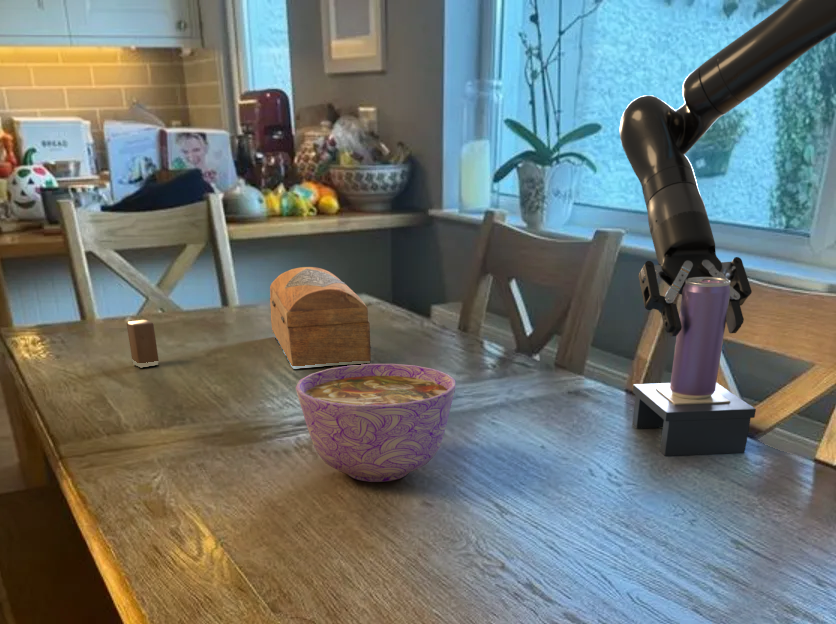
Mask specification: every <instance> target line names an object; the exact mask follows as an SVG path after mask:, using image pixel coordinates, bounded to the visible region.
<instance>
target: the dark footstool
mask: <svg viewBox="0 0 836 624" xmlns="http://www.w3.org/2000/svg"><path fill="white" fill-rule="evenodd" d="M670 383H671V382H661V383H659V382H658V383H657V382H656V383H633V385H632V393H633V394H634V395H635V397H634V405H633V414H632V423H631V424H632V426H633V427H634V428H635V429H637V430H638V429H639V430H640V429H658V428H657V427H663V428H662V431H661V440H660V447H659V452H660V453H661V454H662V455H663V456H664V457H672V456H695V455H696V456H697V455H699V456H700V455H721V454H742V453H745V452H746V447H747V441H748V437H749V430H750V423H751V419H754V418H755V417H756V412H757V409H756V408H755V407H754V406H752V405H751V404H750V403H747V402H746V401H745V400H743V399H742V398H740V397H739V396H738V395H736V394H734V393H733V392H731V391H730V390H728V389H727V388H726V387H724V386H722V385H721V384H719V383H718V382H717V383H716V389H715V392H714V393H713V395H712V396H711V397H709V398H705V399H685V398H680V397H677V396H675V395H673V394H672V392H671V390H670Z"/></svg>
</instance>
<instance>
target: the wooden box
mask: <svg viewBox="0 0 836 624" xmlns="http://www.w3.org/2000/svg"><path fill="white" fill-rule="evenodd" d="M269 293H270V294H269V296H270V298H269V305H270V324H271V330H273V331H272V333H273V332H274V334H275V336H276V338H277V339H278V341H279V343H280V345H281V347H282V349H283V350H284V352H285V354H286V356H287V358H288V360H289V362H290V363H291V365H292V366H305V365H315V364H326V363H339V362H352V361H371V362H372V355H371V354H372V352H371V351H372V350H371V348H372V347H371V324H370V323H371V322H370V321H369V308H368V306H367V304H365V302H364V301H363V300H362V299H361V297H360V296H359V295H358V294H357V293H355V292H354V290H353V289H351V287H349V286H348V285H347V284H346V283H345V281H344V282H343V281H342V280H341V279H340V278H339V277H338V276H337V275H335V274H334V273H332V272H331V271H328V270H326V269H324V268H321V267H315V266H302V267H296V268H292V269H289V270H286V271H285V272H282V273H281V274H279V275H278V276H277V277H276V278H275V279H274V280H273V281H272V282H271V284H270V285H269Z"/></svg>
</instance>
